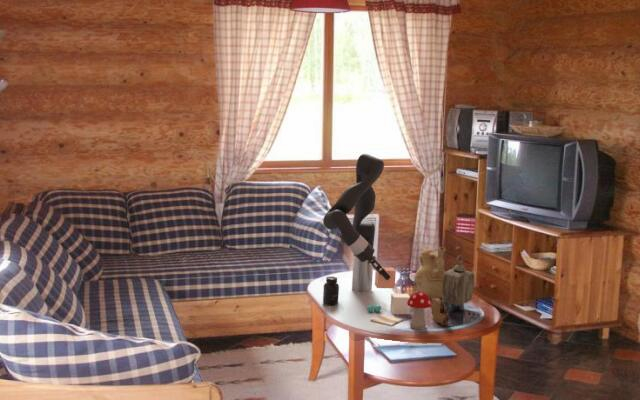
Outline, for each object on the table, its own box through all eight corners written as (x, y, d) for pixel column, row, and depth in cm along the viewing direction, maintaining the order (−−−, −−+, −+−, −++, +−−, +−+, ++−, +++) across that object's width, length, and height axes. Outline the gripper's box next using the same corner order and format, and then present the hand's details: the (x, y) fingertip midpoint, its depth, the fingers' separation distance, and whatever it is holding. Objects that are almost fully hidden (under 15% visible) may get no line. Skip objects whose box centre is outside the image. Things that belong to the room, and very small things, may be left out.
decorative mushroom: (407, 330, 300) (409, 294, 297) (404, 323, 308) (406, 288, 306) (431, 330, 300) (434, 295, 298) (427, 324, 309) (430, 289, 306)
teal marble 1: (369, 310, 324) (369, 303, 324) (375, 311, 322) (375, 305, 322) (365, 311, 322) (366, 305, 321) (371, 313, 320) (372, 306, 319)
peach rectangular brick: (377, 288, 308) (378, 270, 306) (374, 284, 313) (375, 267, 312) (394, 288, 308) (395, 270, 307) (391, 284, 314) (393, 267, 313)
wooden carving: (452, 328, 305) (454, 304, 303) (442, 328, 304) (444, 305, 302) (435, 315, 320) (437, 293, 319) (425, 316, 319) (427, 293, 318)
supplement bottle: (336, 306, 327) (337, 280, 325) (321, 305, 329) (322, 278, 327) (339, 302, 334) (340, 276, 332) (324, 300, 335) (325, 275, 333)
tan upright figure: (436, 288, 363) (440, 238, 359) (456, 300, 344) (460, 247, 340) (405, 290, 357) (408, 239, 353) (423, 302, 339) (426, 249, 335)
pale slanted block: (392, 314, 320) (393, 297, 319) (390, 310, 325) (391, 293, 324) (409, 314, 321) (410, 297, 320) (406, 310, 326) (407, 293, 325)
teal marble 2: (376, 310, 324) (376, 303, 324) (382, 311, 323) (382, 305, 322) (373, 311, 322) (373, 305, 321) (379, 313, 320) (379, 306, 320)
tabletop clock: (454, 304, 338) (458, 250, 334) (473, 308, 333) (477, 254, 329) (440, 311, 327) (444, 256, 323) (459, 315, 321) (463, 259, 317)
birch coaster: (381, 315, 318) (382, 313, 318) (402, 320, 312) (402, 318, 312) (370, 320, 310) (370, 319, 309) (391, 326, 304) (391, 324, 304)
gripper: (351, 250, 314) (377, 278, 317) (357, 258, 300) (384, 287, 303) (364, 238, 314) (390, 266, 317) (370, 245, 300) (397, 275, 303)
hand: (387, 276), depth 310 cm, fingers closed on peach rectangular brick, 5 cm apart
